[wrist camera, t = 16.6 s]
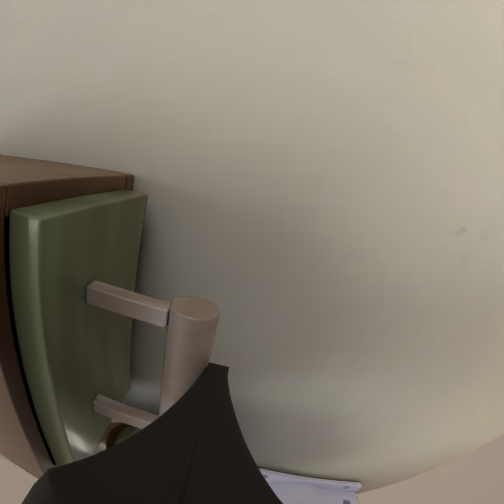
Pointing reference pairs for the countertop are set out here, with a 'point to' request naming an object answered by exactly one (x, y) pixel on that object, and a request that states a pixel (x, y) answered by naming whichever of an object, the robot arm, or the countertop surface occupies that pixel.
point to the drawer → (93, 318)
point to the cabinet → (3, 348)
